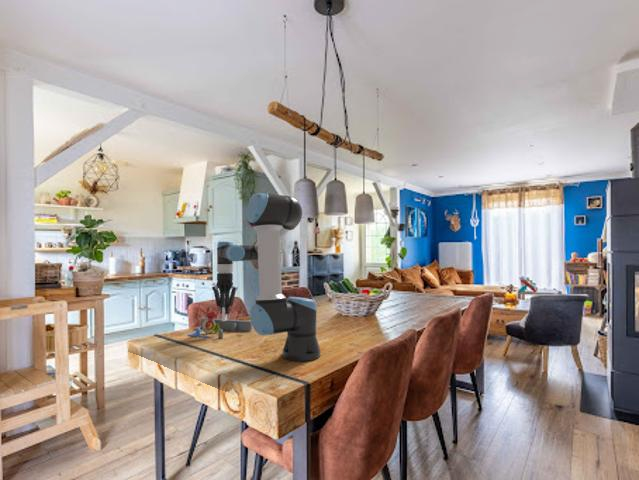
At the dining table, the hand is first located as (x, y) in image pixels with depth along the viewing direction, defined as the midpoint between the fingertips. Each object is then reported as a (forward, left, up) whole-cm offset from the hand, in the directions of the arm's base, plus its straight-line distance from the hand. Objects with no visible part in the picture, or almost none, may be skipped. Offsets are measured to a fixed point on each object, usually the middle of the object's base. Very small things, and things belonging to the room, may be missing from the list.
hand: (224, 320), depth 172 cm
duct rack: (+2, +4, -7) cm, 8 cm away
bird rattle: (+1, +8, -7) cm, 11 cm away
